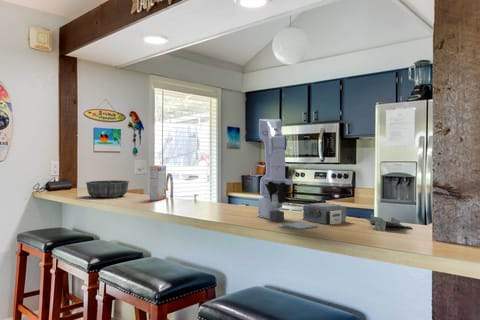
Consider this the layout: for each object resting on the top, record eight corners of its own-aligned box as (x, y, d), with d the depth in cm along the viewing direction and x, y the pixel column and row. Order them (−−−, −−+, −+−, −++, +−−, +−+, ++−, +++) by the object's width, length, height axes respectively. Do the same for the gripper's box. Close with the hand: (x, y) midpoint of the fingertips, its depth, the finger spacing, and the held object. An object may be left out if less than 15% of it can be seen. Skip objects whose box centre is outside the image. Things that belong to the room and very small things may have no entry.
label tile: (329, 224, 139) (329, 211, 139) (339, 223, 143) (340, 210, 143) (331, 224, 139) (331, 211, 139) (341, 223, 142) (341, 210, 142)
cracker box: (157, 198, 228) (157, 165, 228) (166, 198, 227) (166, 165, 227) (148, 200, 214) (149, 165, 214) (158, 200, 213) (158, 165, 213)
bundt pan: (98, 200, 216) (98, 183, 216) (78, 196, 233) (78, 181, 233) (136, 197, 235) (137, 181, 235) (116, 194, 253) (116, 179, 253)
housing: (302, 220, 149) (302, 204, 149) (323, 217, 156) (323, 202, 156) (324, 224, 139) (324, 207, 139) (345, 221, 147) (345, 205, 147)
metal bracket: (402, 217, 124) (359, 212, 133) (400, 234, 123) (357, 228, 132) (413, 223, 134) (373, 219, 144) (412, 239, 133) (371, 233, 143)
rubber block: (269, 221, 147) (269, 211, 147) (277, 220, 149) (277, 210, 149) (276, 222, 144) (276, 212, 144) (283, 221, 146) (283, 211, 146)
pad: (282, 225, 135) (282, 224, 135) (299, 223, 141) (299, 222, 141) (299, 229, 128) (299, 228, 128) (317, 227, 133) (317, 225, 133)
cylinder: (269, 207, 139) (269, 192, 139) (277, 206, 142) (277, 192, 142) (276, 208, 136) (276, 193, 136) (284, 207, 138) (284, 192, 138)
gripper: (257, 166, 143) (257, 201, 143) (282, 167, 131) (282, 204, 131) (271, 166, 147) (271, 200, 147) (296, 167, 135) (296, 203, 135)
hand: (277, 202), depth 139 cm, fingers closed on cylinder, 4 cm apart
